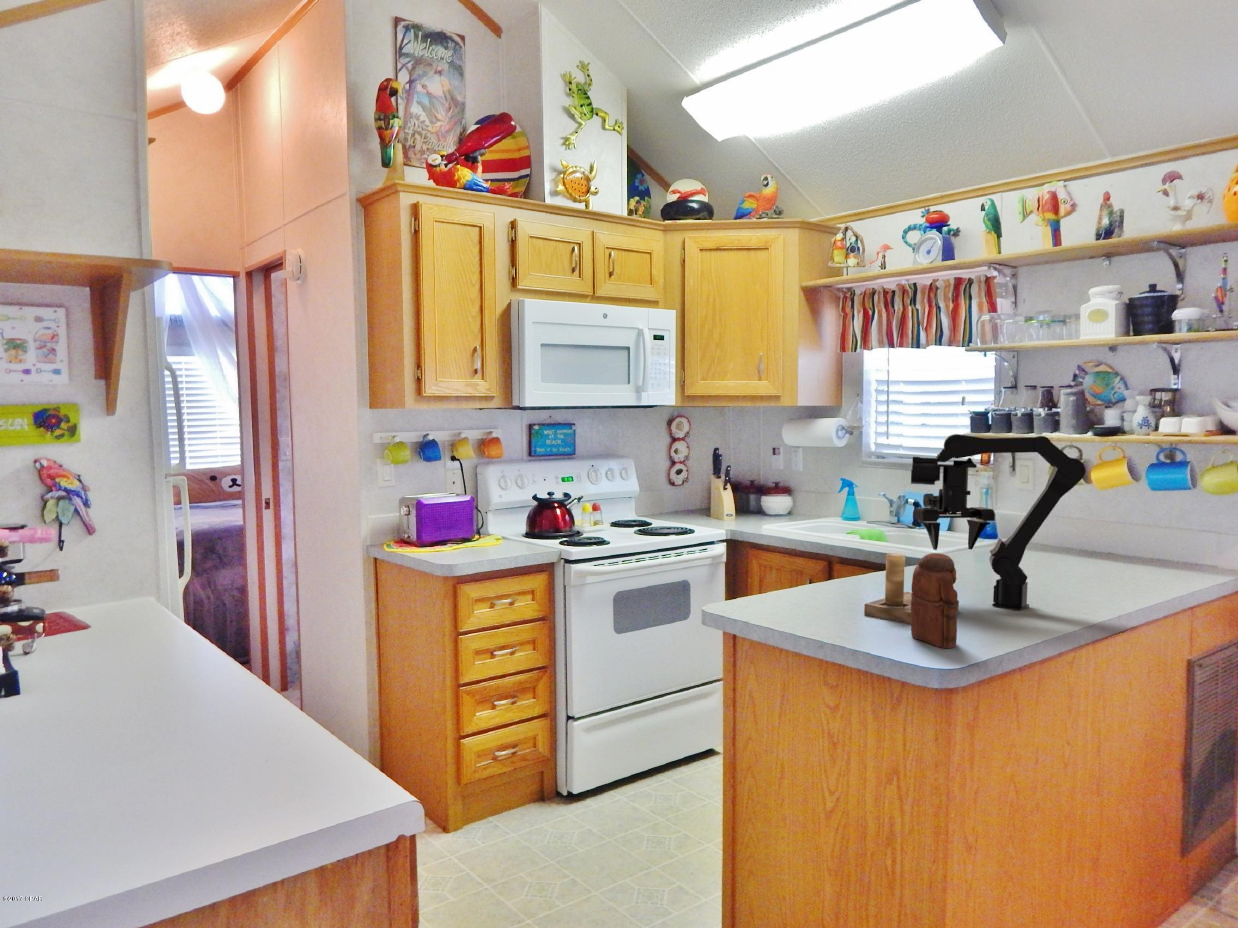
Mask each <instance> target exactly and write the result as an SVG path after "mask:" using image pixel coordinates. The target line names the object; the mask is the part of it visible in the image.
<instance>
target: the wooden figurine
mask: <svg viewBox="0 0 1238 928" xmlns="http://www.w3.org/2000/svg"><path fill="white" fill-rule="evenodd" d="M956 581H957V570H956V568H955V562H954V560H953V559H952V558H951V557H950V556H949V555H947V554H944V553H940V552H939V553H937V552H931V553H928V554H925V555H924V556H923V557H921V558H920V560H919V561H918V564H917V565H916V566H915V568H914V569H913V572H912V580H911V593H912V594H911V597H912V599H911V624H910V626H911V629H910V631H911V632H910V633H911V636H912V637H913V638H914V639H916V640H920V641H921V642H924V643H928V644H930V645H934V646H935V647H939V648H940V647H941V649H946V648H948V649H952V648H955V647H956V645H957V639H958V638H957V635H958V628H957V627H958V624H957V623H958V622H957V621H958V618H957V617H958V611H957V605H956V603H957V600H958V595H959V594H958V591H957V590H956V589H955V588H954V584H955V583H956Z"/></svg>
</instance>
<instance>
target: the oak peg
mask: <svg viewBox="0 0 1238 928" xmlns="http://www.w3.org/2000/svg"><path fill="white" fill-rule="evenodd" d="M885 554H886V555H885V586H884V590H885V591H884V598H885V606H888V607H894V608H903V599H904V592H905V591H904V590H905V563H906V562H905V554H903V553H897V552H896V553H895V552H894V553H893V552H892V553H891V552H890V553H889V552H888V553H885Z"/></svg>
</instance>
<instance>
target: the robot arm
mask: <svg viewBox="0 0 1238 928" xmlns="http://www.w3.org/2000/svg"><path fill="white" fill-rule="evenodd" d="M1010 453H1011V454H1012V453H1013V454H1014V453H1015V454H1016V453H1022V454H1023V453H1024V454H1025V453H1037V454H1038V455H1040V456H1041V458H1043V459H1044V460H1045V461H1046V462H1047V463H1048V464H1049V465H1050V466H1051V467H1052V469H1051V472H1050V475H1049V477H1048V480H1047V481H1046V485H1045V487H1044V489H1043V491H1042V492H1041V493H1040V495H1039V496H1038V498H1037V499H1036V501H1034V504H1032V506H1031V507H1030V509H1029V510H1028V511H1027V512H1026V514H1025V516H1024V517H1023V519H1022V520H1021V521H1020V523H1019V525H1018V526H1017V527H1016V528H1015V530H1014V532H1013V533H1012V534H1011V535H1010V536H1009V537H1008V538H1007V539H1006V540H1003V539H1002V538H998V539H997V541H996V544H995V546H994V547H993V548H992V549H990V550H989V553H990V556H989V559H988V560H989V564H990V566H991V569H992V570H993V572H994V573H995V574H996V575H998V576H999V578H997V579H995V584H994V586H993V596H992V597H993V598H992V602H993V603H992V604H991V606H992V607H997V608H1005V609H1008V610H1009V609H1010V610H1016V611H1021V610H1024V609H1027V608H1029V607H1030V604H1028V584H1029V583H1028V581H1027V579H1028V576H1027V574H1026V573H1025V571H1024V570H1023V569H1022V567H1020V564H1021V562H1022V560H1023V557H1024V554H1025V552H1026V549H1027V546H1028V545H1029V543H1030V542H1031V541H1032V539H1033V538H1034V537H1035V535H1036V533H1038V530H1040V528H1041V527H1042V525H1043V524H1044V522H1045V521H1046V520H1047V518H1048V517H1049V515H1050V514H1051V513H1052V511H1053V510H1054V509H1055V507H1056V505H1057V504H1058V503H1059V501H1060V500H1061V499H1062V498H1063V497H1064V495H1066V494H1067V493H1068V492H1070V491H1071V490H1072V489H1073V488H1074V487H1075V486H1076V485H1078V484H1079V482H1080V481H1082V479H1084V477H1085V475H1086V466H1085V465H1084V463H1083V462H1082V461H1081V460H1080V459H1078V458H1075V457H1071V456H1068V455H1067V453H1065V452H1063V450H1061V449H1060V448H1059V447H1057V445H1055V444H1054V443H1053V442H1052V441H1051V440H1050V439H1049V437H1046V436H1042V435H1037V436H1023V437H1022V436H1021V437H1020V436H1017V437H980V436H974V435H973V436H972V435H968V434H967V435H966V434H961V433H960V434H959V433H954V434H950V435H948V436H947V437H946V438H945V440H944V443H943V448H942V450H941V451H940V452H939V453H938V454H937V455H936V456H935V457H921V456H912V465H911V466H912V468H911V471H910V485H924V486H925V485H927V486H929V485H930V486H935V485H936V482H940V481H941V468H942V487H941V488H939V490H938V495H934V494H933V493H925V494H923V496H922V497H923V499H922V504H923V507H915V508H914V509H913V511H912V519H913V520H917V522H918V523H920V524H922V525H923V527H925V530H926V532H927V534H928V537H929V539H930V544H931V546H932V549H933V550H934V551H937V550H938V547H939V546H938V545H939V539H940V538H939V537H940V530H941V529H940V528H941V523H940V522H938V520H940V519H966V521H967V525H968V537H967V547H968V550H970V551H971V550H973V548H974V547H975V545H976V543H977V541H978V539H979V537H980V536H981V534H982V532H983V531H984V530H985V529H986V527H987V526H988V525H991V522H995V521H996V512H995V511H994V509H993V508H992V509H991V508H989V507H984V506H979V507H978V506H974V507H973V506H970V507H968V496H971V490H968V488H969V487H968V486H969V469H976V468H978V465H977V464H976V463H974V461H973V460H972V458H971V457H973V456H977V455H984V454H1010ZM962 458H967V459H966V460H960V459H962ZM952 459H953V462H952V464H951V463H946V462H948V461H950V460H952ZM955 459H956V460H955ZM958 459H959V460H958Z"/></svg>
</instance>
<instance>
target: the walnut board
mask: <svg viewBox="0 0 1238 928" xmlns="http://www.w3.org/2000/svg"><path fill="white" fill-rule="evenodd" d="M911 594H912V591H904V599H903V608H894V607H888V606H885V597H884V598H881V599H877V600H873V601H870V602H866V603H864V607H863V608H864V610H863V611H864V613H863V615H865V616H869V617H873V618H879V619H885V620H889V621H894V622H895V621H896V622H898V623H904V624H909V625H911V599H912V597H911ZM956 605H957V612H959V607H960V606H959V605H960V600H958V599H957V603H956Z"/></svg>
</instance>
